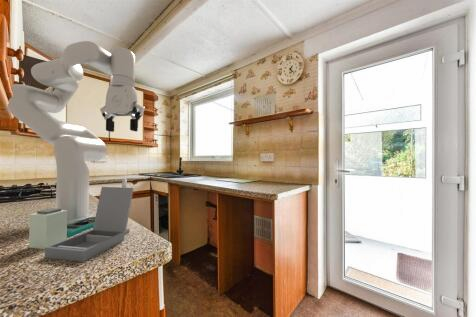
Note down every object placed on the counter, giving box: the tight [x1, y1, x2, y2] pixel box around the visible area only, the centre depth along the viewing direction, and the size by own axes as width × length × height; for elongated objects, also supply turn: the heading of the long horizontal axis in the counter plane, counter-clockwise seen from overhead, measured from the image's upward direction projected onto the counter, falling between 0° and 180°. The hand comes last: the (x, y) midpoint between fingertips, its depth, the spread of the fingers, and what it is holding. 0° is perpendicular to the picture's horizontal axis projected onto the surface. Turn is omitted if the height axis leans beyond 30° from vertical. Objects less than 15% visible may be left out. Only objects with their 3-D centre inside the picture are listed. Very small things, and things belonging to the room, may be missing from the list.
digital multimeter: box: [67, 216, 95, 238], centre depth 63 cm, size 7×15×3 cm, turn 176°
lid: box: [92, 186, 134, 232], centre depth 57 cm, size 10×12×1 cm
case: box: [44, 228, 125, 263], centre depth 49 cm, size 10×12×3 cm
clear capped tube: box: [121, 178, 131, 236], centre depth 59 cm, size 2×2×17 cm
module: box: [28, 207, 68, 250], centre depth 51 cm, size 5×5×10 cm
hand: (121, 131), depth 72 cm, fingers open, 9 cm apart
